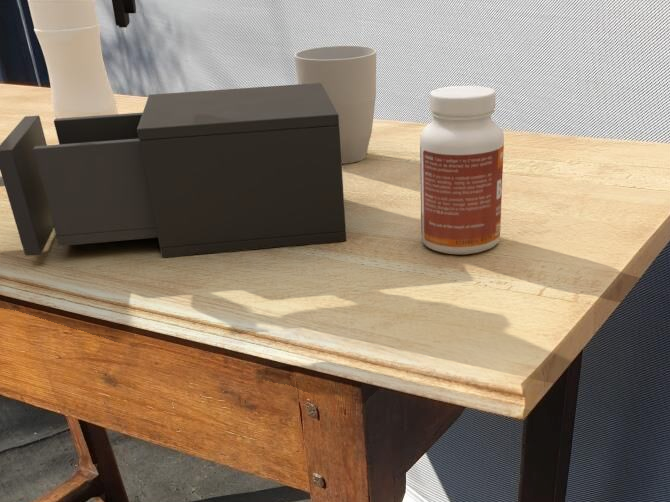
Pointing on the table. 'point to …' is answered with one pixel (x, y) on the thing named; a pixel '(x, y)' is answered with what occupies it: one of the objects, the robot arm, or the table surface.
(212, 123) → the dark grey box
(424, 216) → the pill bottle
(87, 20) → the water bottle
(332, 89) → the cup
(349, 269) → the table surface
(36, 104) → the table surface
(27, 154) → the grey drawer with handle
